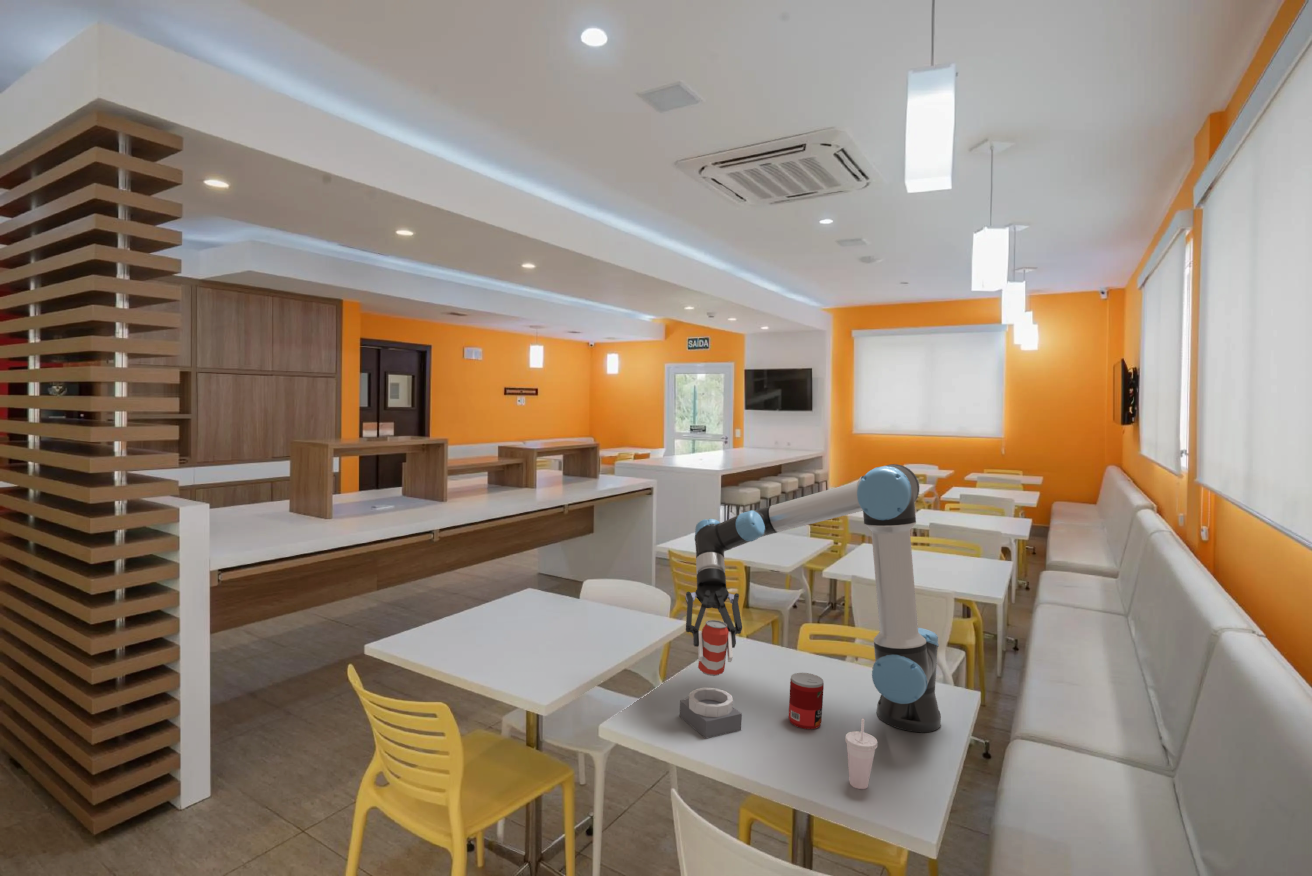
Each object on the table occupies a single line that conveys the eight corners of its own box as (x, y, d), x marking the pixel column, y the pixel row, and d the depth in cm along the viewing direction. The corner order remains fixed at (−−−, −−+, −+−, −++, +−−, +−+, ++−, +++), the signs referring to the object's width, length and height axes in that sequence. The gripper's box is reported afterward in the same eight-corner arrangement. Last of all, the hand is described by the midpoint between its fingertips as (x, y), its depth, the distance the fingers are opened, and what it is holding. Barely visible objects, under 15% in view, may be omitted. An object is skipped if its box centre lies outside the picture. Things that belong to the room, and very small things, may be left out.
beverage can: (703, 677, 161) (708, 628, 160) (694, 666, 167) (700, 619, 166) (727, 677, 162) (732, 628, 162) (718, 666, 168) (723, 619, 168)
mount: (741, 730, 161) (743, 703, 161) (704, 738, 156) (706, 711, 156) (714, 709, 172) (715, 683, 171) (678, 716, 167) (679, 690, 166)
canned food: (822, 731, 162) (824, 686, 161) (788, 727, 164) (790, 682, 163) (820, 717, 170) (823, 674, 169) (788, 713, 171) (790, 670, 171)
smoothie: (844, 790, 137) (848, 723, 137) (841, 773, 144) (844, 709, 143) (877, 794, 136) (881, 727, 136) (872, 777, 143) (876, 712, 142)
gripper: (745, 582, 180) (753, 667, 164) (672, 580, 179) (673, 664, 163) (750, 568, 174) (758, 653, 159) (675, 565, 173) (676, 651, 158)
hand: (715, 659), depth 161 cm, fingers closed on beverage can, 6 cm apart
